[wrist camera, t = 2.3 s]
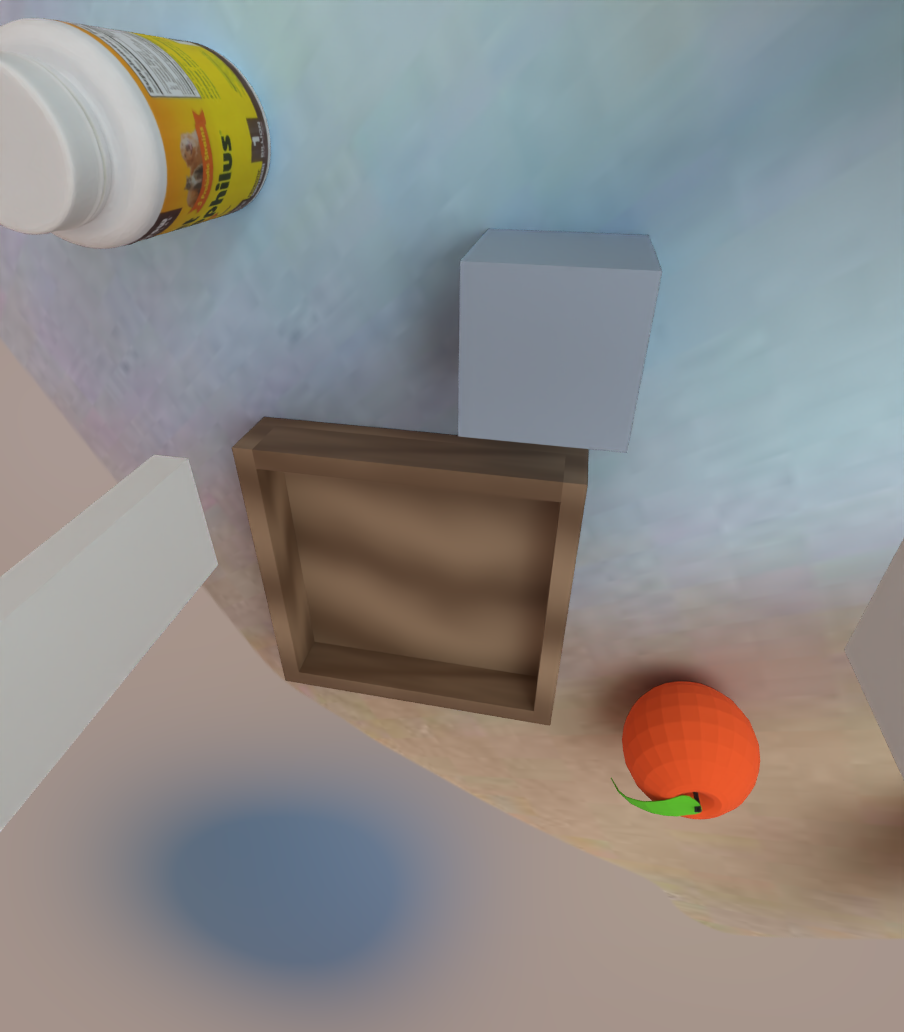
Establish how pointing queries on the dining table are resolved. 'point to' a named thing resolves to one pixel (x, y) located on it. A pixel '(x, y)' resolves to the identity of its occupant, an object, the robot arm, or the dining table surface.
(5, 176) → the supplement bottle
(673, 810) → the clementine
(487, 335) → the grey cube
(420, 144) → the dining table surface
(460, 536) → the walnut tray
